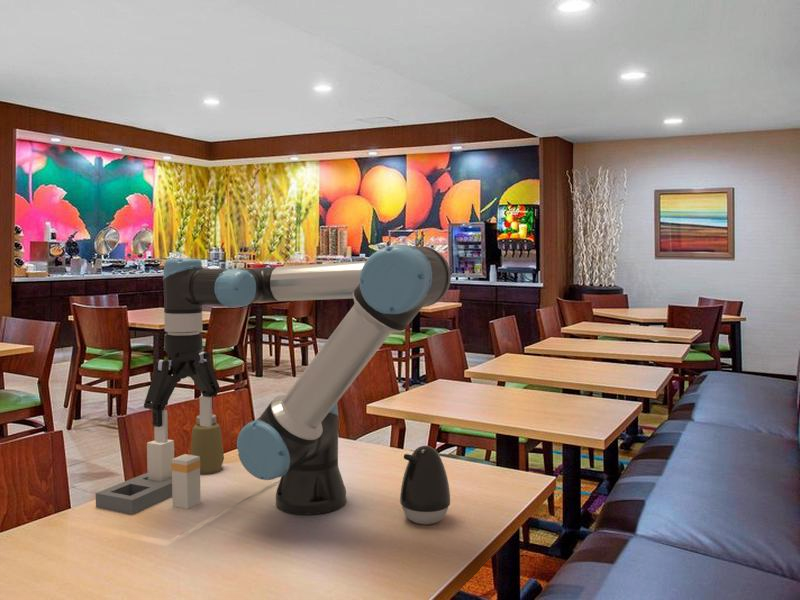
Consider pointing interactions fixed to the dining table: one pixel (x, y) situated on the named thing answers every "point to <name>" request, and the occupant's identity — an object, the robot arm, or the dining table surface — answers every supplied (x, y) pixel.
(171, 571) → the dining table surface
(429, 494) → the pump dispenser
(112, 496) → the grey flat block
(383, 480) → the dining table surface
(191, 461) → the plug
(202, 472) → the squeeze bottle
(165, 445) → the twin plug
